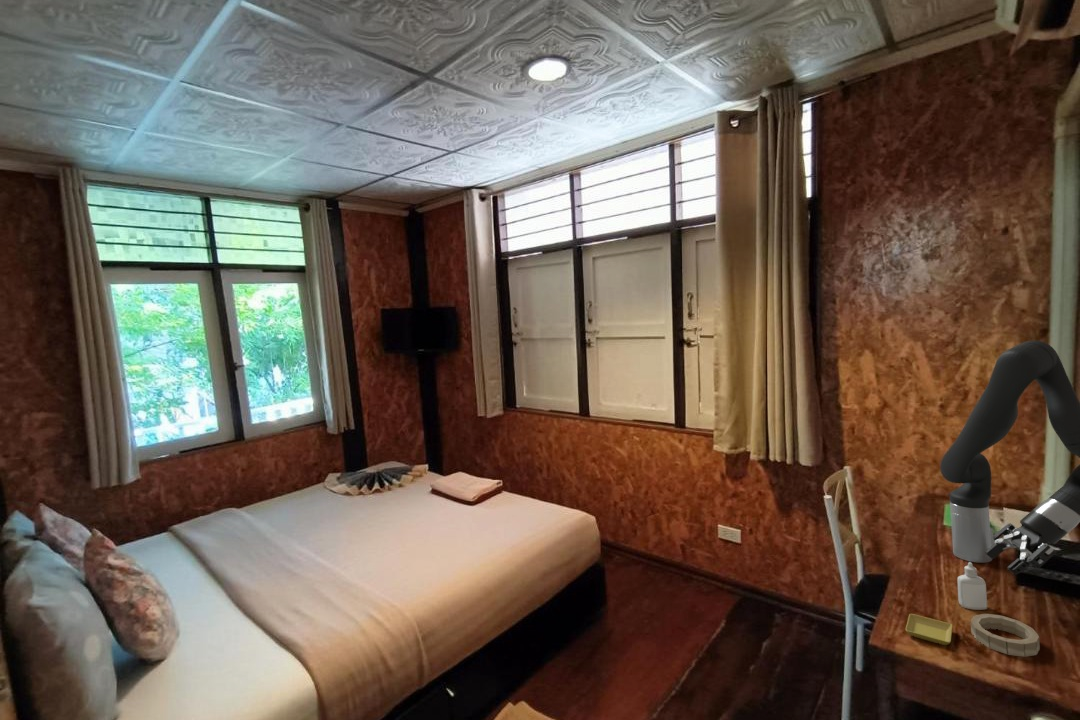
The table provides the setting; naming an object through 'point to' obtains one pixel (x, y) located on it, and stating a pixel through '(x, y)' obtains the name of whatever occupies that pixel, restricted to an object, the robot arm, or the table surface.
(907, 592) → the table surface
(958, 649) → the table surface
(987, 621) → the birch ring collar
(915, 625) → the yellow square tray
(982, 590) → the eye dropper bottle
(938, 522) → the table surface
